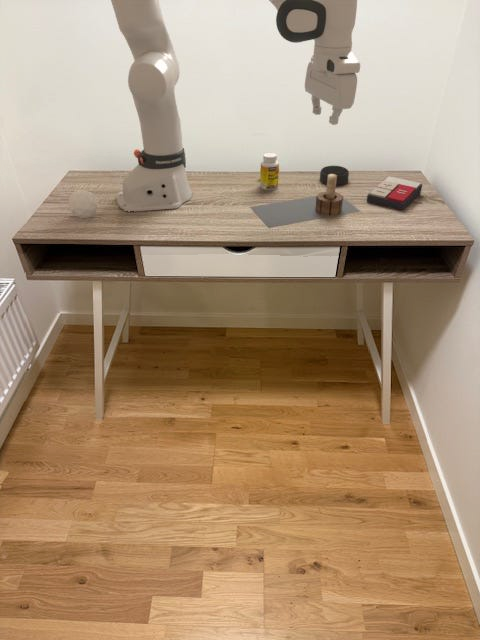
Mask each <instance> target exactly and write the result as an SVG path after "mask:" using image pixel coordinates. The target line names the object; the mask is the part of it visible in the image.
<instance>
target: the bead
mask: <svg viewBox="0 0 480 640" xmlns="http://www.w3.org/2000/svg"><path fill="white" fill-rule="evenodd" d="M315 196H316V208H315V209H316V211H317V212H318V213H319V214H320V213H321V214H322V215H328V216H329V215H331V216H332V215H337V214H340V212H341V211H342V204H343V198H344V196H343V195H342V194H341V193H340V192H339V193H338V191H337V192H336V191H335V197H334V199H331V200H330V199H325V198H326V191H322V192H319V193H318V194H317V195H315ZM337 216H338V215H337ZM332 217H333V216H332Z"/></svg>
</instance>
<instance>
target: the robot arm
mask: <svg viewBox="0 0 480 640" xmlns="http://www.w3.org/2000/svg"><path fill="white" fill-rule="evenodd" d="M110 1H111V4H112V8H113V11H114V14H115V19H116V22H117V25H118V28H119V30H120V32H121V34H122V36H123V37H124V38H125V39H124V40H126V43H127V45H128V47H129V50H130V52H131V54H132V57H133V60H134V61H133V62H132V64H131V66H130V68H129V71H128V76H127V77H128V78H127V83H128V89H129V92H130V93H131V95H132V98H133V102H134V107H135V109H136V113H137V117H138V120H139V124H140V131H141V138H142V146H143V149H142V150H140V149H135V150H134V151H133V154H134V157H135V158H136V159H137V161H138V162H137V163H138V164H137V165H136V166H135V167H134V168H133V169H132V170H131V171H130V172H128V174H127V175H126V176H125V177H124V179H123V181H122V182H123V184H122V191H120V192H118V193H117V195H116V204H117V203H118V204H117V205H118V207H119V208H120V209H121V210H122V209H123V210H122V211H125V212H126V211H128V212H127V213H131V212H130V211H134V212H144V211H157V210H160V211H161V210H168V209H169V210H170V209H171V210H172V209H173V210H174V209H178V208H180V206H182V204H184V203H186V202H187V201H189V200H190V199H191V198H192V197H193V192H192V190H191V187H190V184H189V181H188V177H187V171H186V167H187V166H186V164H187V163H186V161H187V160H186V152H185V148H184V147H183V146H184V145H183V137H182V126H181V125H182V124H181V117H180V116H179V110H178V106H177V102H176V101H177V100H176V96H175V86H176V85H177V83H178V81H179V78H180V66H179V64H180V63H179V62H178V60H177V56H176V52H175V50H174V46H173V43H172V40H171V38H170V34H169V31H168V30H167V27H166V24H165V23H166V22H165V20H164V17H163V14H162V9H161V6H160V1H159V0H110ZM268 1H269V2H270V3H271V4H272V5H273V6H274V7H275V9H276V11H277V13H276V17H275V24H276V29H277V31H278V33H279V34H280V36H281V37H282V39H284V40H286V41H288V42H290V43H295V44H298V43H302V42H306V41H312V40H313V41H314V45H313V55H312V56H311V57H310V61H309V63H308V64H307V68H306V71H305V72H306V73H305V80H304V90H305V92H306V93H308V94H310V95H311V104H312V114H314V115H316V116H318V115H321V113H322V106H321V101H323V102H325V103H326V104H329V105H330V106H331V107H332V108H331V110H332V113H331V115H330V116H329V120H328V123H329V124H331V125H333V126H336V125H338V123H339V118H340V116H341V114H342V112H343V110H347V109H351V108H352V106H354V104H355V98H356V93H357V86H358V76H357V73H360V70H361V63H360V61H359V60H358V59H357V57H356V56H355V54H354V52H353V51H352V48H353V41H352V37H353V36H352V35H353V32H354V31H353V30H354V28H355V24H356V18H357V11H358V10H357V9H358V0H268Z"/></svg>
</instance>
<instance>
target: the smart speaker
mask: <svg viewBox="0 0 480 640" xmlns="http://www.w3.org/2000/svg"><path fill="white" fill-rule="evenodd" d="M329 174H335V175H337V180H336V186H343V185H346V184H347V183H348V181H349V175H350V172H349V170H348V168H346V167H344V166H341V165H340V166H339V165H328V166H327V165H326V166H324V167H323V168H321V169H320V172H319V181H320V182H321V183H323V184H324V185H327V180H328V175H329Z"/></svg>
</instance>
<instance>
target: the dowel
mask: <svg viewBox="0 0 480 640" xmlns="http://www.w3.org/2000/svg"><path fill="white" fill-rule="evenodd" d="M336 180H337V175H335V174H329V175H328V180H327V184H326V190H325V192H326V198H325V199H330V200H331V199H334V197H335V192H336Z"/></svg>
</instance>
